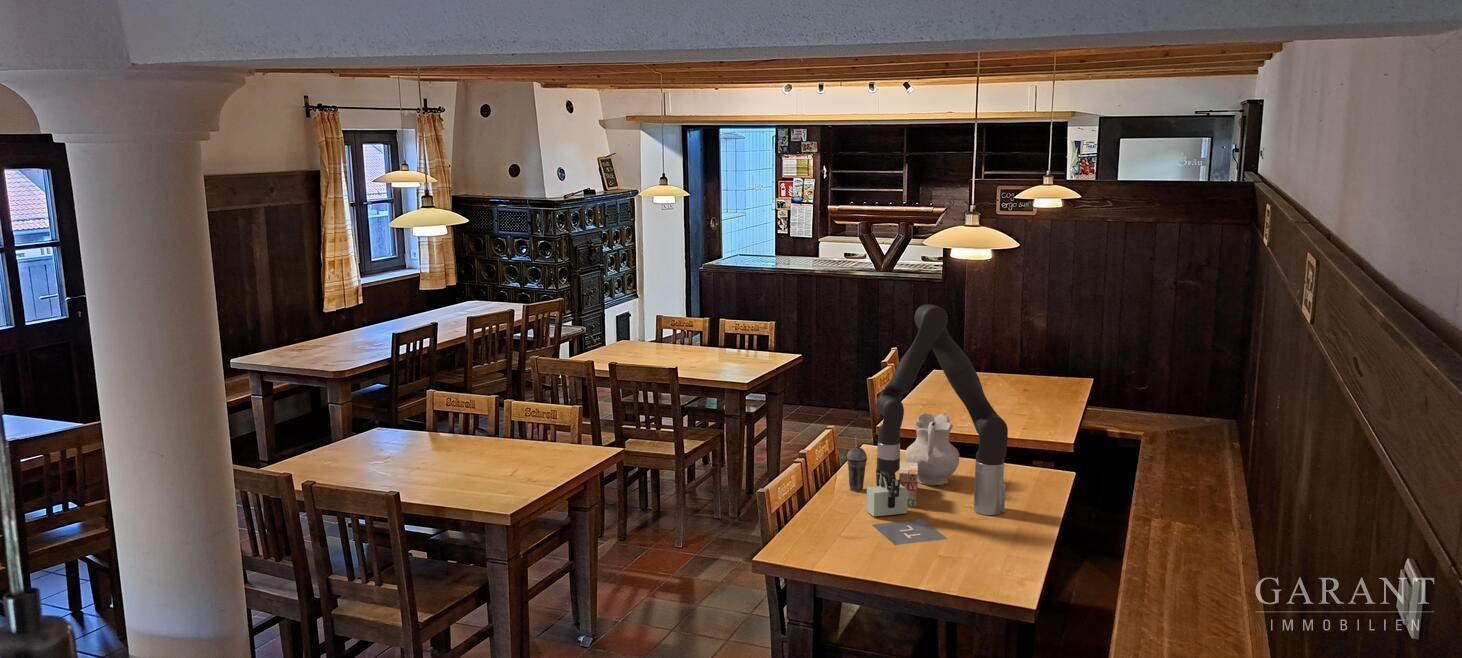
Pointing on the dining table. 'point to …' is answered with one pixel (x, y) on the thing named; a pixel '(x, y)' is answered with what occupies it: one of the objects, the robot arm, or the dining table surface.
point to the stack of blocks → (909, 480)
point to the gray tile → (909, 532)
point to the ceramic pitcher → (933, 449)
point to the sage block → (885, 501)
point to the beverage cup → (856, 467)
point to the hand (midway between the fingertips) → (887, 504)
